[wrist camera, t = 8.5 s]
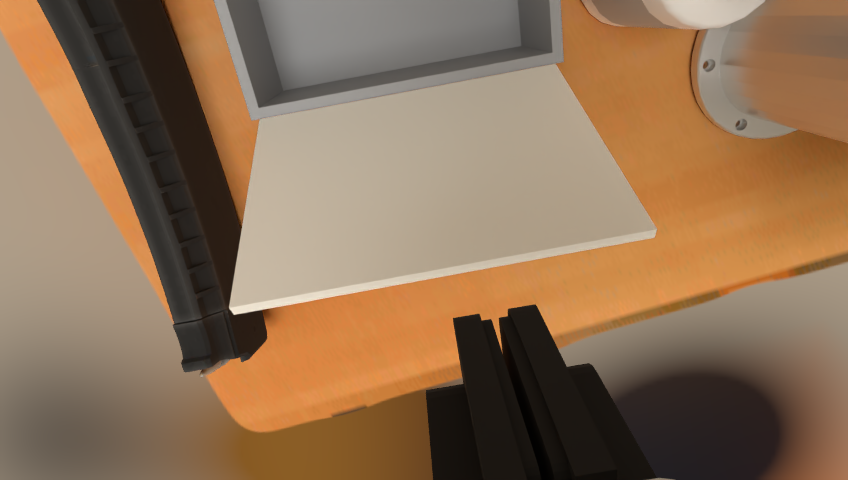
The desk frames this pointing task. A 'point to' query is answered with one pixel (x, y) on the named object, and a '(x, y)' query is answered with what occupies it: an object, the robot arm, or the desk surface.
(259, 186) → the carton flap
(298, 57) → the carton
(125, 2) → the magazine
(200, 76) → the desk surface
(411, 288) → the desk surface
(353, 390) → the desk surface
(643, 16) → the spray bottle
